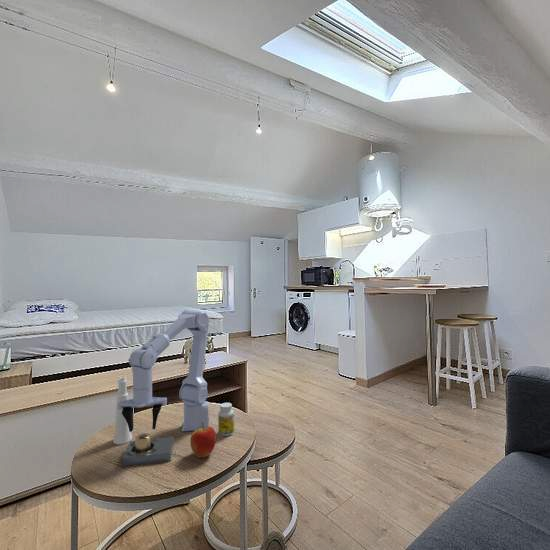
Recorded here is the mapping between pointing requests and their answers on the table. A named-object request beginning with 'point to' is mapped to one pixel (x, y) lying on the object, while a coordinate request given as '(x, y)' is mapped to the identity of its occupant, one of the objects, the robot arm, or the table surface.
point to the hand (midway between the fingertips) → (142, 429)
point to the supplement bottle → (226, 419)
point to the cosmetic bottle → (121, 424)
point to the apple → (203, 441)
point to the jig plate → (149, 452)
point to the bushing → (142, 443)
